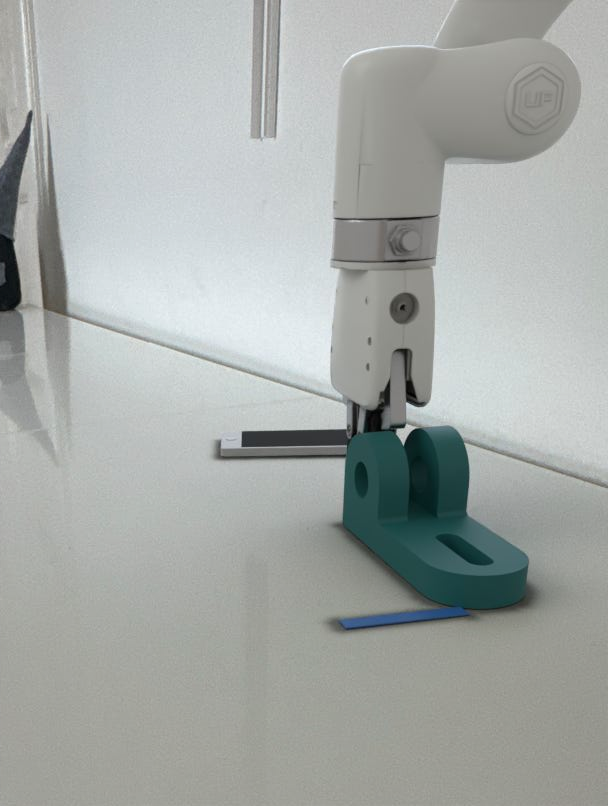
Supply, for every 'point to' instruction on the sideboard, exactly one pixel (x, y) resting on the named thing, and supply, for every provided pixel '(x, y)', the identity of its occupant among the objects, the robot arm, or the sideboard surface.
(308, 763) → the sideboard surface
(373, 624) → the tape line
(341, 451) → the smartphone
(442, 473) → the bracket
